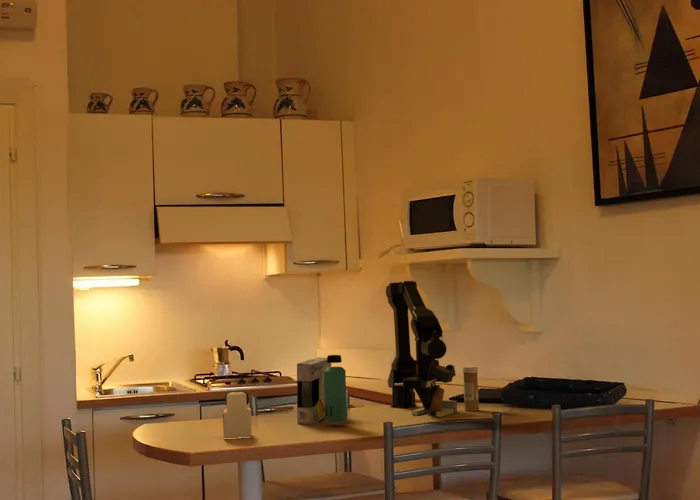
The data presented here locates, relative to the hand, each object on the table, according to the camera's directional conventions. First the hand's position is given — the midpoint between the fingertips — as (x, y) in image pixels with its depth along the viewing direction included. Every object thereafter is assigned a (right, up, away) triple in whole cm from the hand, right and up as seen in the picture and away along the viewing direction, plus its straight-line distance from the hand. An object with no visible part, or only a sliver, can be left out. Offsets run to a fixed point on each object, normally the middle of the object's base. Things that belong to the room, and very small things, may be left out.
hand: (427, 409), depth 285 cm
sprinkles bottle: (+14, -2, +9) cm, 17 cm away
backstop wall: (+4, -2, +8) cm, 9 cm away
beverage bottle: (-27, -2, -16) cm, 31 cm away
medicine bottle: (-53, -3, -30) cm, 60 cm away
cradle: (+2, -2, +3) cm, 4 cm away
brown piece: (+2, -1, +2) cm, 3 cm away
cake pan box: (-33, -3, -2) cm, 33 cm away
